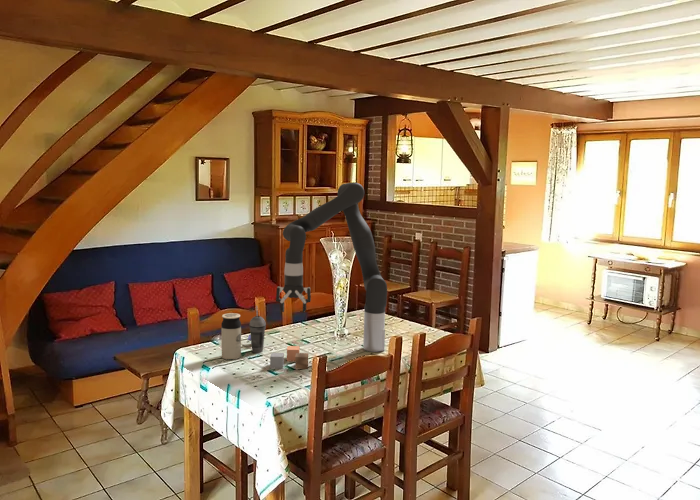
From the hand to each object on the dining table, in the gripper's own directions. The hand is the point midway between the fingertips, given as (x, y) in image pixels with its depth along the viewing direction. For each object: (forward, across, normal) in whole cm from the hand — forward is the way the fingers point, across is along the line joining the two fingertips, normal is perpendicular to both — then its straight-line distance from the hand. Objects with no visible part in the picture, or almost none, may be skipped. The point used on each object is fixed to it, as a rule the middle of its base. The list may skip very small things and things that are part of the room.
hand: (293, 311), depth 238 cm
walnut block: (+20, -4, +9) cm, 23 cm away
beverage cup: (+20, +16, -9) cm, 28 cm away
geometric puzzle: (+20, +18, -18) cm, 33 cm away
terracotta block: (+20, 0, 0) cm, 20 cm away
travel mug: (+20, +26, -1) cm, 33 cm away
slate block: (+20, +6, +10) cm, 23 cm away
